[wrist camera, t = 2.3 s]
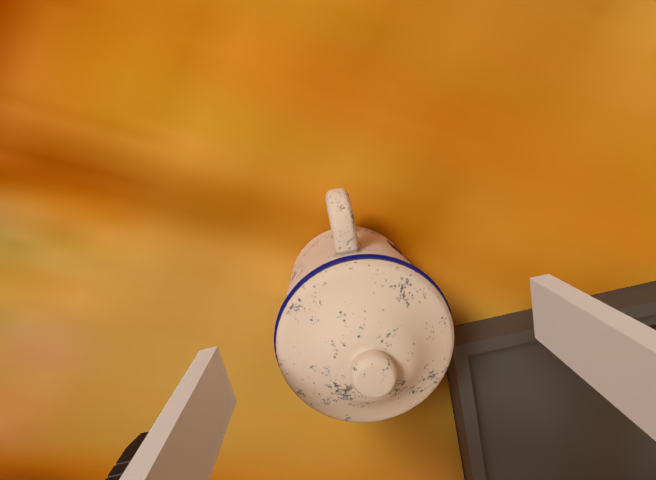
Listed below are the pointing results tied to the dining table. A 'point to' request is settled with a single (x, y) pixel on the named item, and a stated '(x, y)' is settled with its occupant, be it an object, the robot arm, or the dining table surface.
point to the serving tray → (541, 404)
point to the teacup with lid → (361, 324)
